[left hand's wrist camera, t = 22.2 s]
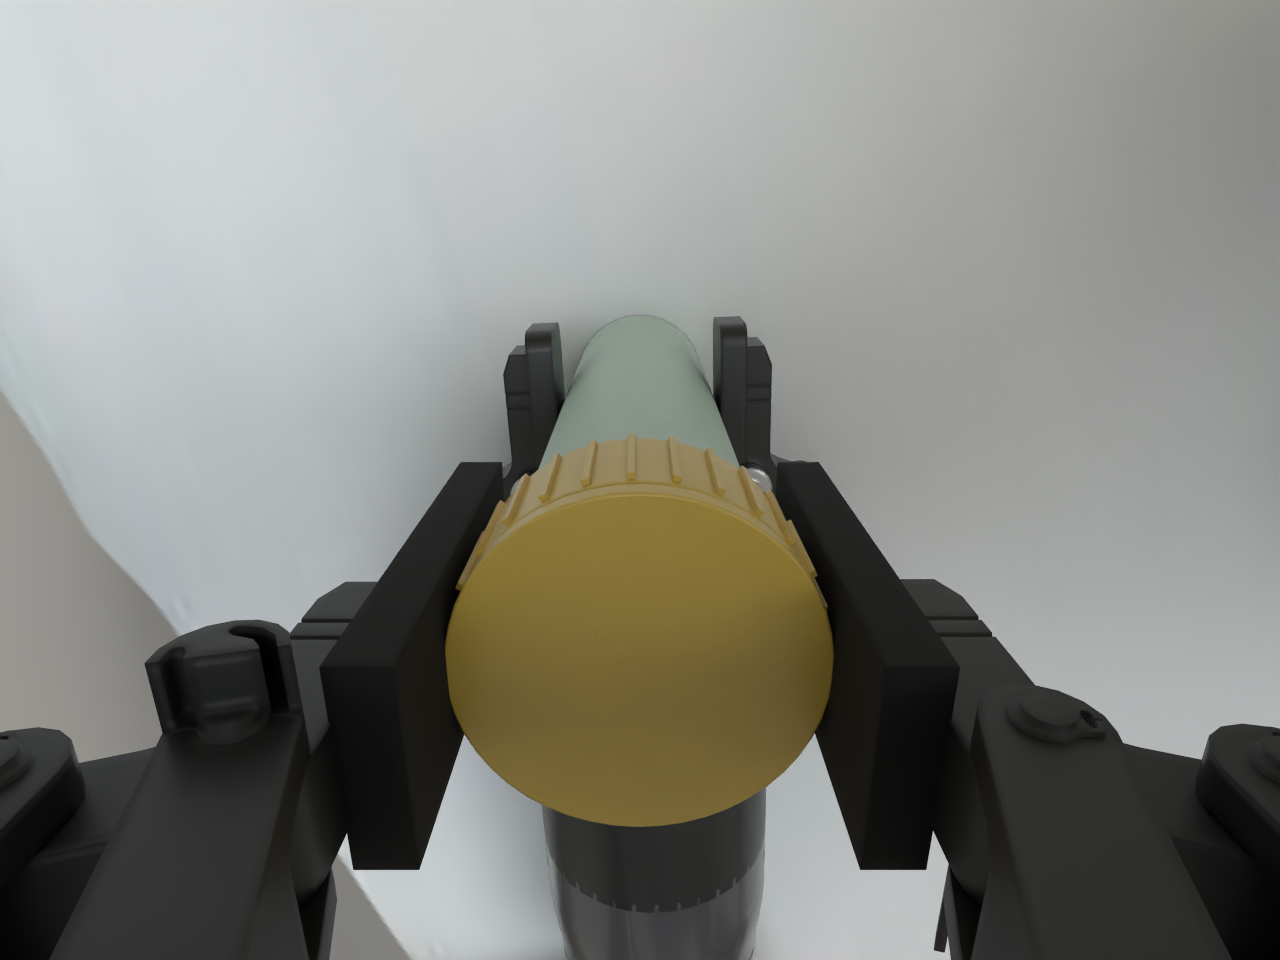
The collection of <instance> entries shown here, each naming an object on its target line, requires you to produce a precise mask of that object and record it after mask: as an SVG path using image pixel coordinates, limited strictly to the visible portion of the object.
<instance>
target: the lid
mask: <svg viewBox="0 0 1280 960" xmlns="http://www.w3.org/2000/svg"><path fill="white" fill-rule="evenodd" d="M816 576H818V575H817V573H816V571H815V569H814V567H813V564H812V562H811V560H810V558H809V556H808V554H807V552H806V550H805V548H804V546H803V544H802V541H801V539H800V537H799V535H798V533H797V531H796V529H795V527H794V525H793V523H792V521H791V520H789V521H786V519H785V517H784V515H783V513H782V511H781V509H780V506H779V504H778V502H777V500H776V498H775V496H774V494H773V493H772V492H771V490H769V491H768V492H767V493H765V491H764V490H763V489H762V488H761V487H760V486H759V485H758V484H757V483H756V482H754V481H753V480H752V479H751V478H750V475H749V473H748V470H747V469H746V468H745V467H744V466H741V467H740V468H739V469H738V468H736V467H735V466H734V465H732V464H731V463H729V462H728V461H726V460H724V459H722V458H720V457H717V456H715V452H714V450H713V449H711V448H709V447H707V449H706V451H704V450H701V449H698V448H696V447H693V446H690V445H687V444H682V443H677V442H676V438H675V437H669V438H668V440H659V439H646V438H636V434H629V435H628V439H618V440H612V441H606V442H601V443H597V441H596V439H595V440H591V441H589V444H588V446H586V447H583V448H580V449H577V450H574V451H572V452H570V453H568V454H565V455H563V456H560V454H559V453H557V454H555V455H553V456H552V459H551V462H550V463H548V464H547V465H545V466H544V467H542V468H540V469H539V470H537V471H536V472H535V473H534V474H533V475H531V476H530V477H529V476H528V475H527V474H525V475H524V476H522V477H521V479H520V482H519V484H518V486H517V489H516V490H515V491H514V492H513V493H512V495H511V496H510V497H509V498H508V499H507V500H506V502H505V503H504V502H503V501H501V500H500V501H499V503H498V504H497V506H496V508H495V510H494V512H493V514H492V516H491V518H490V520H489V522H488V525H487V527H486V529H485V531H482V533H481V535H480V537H479V539H478V541H477V543H476V545H475V548H474V550H473V552H472V554H471V556H470V558H469V560H468V562H467V564H466V566H465V568H464V570H463V572H462V574H461V577H460V579H459V581H458V583H457V585H456V589H457V590H460V593H459V596H458V598H457V600H456V602H455V604H454V607H453V610H452V613H451V617H450V620H449V623H448V626H447V633H446V639H445V655H446V666H447V676H448V686H449V695H450V701H451V704H452V707H453V710H454V713H455V716H456V718H457V720H458V722H459V724H460V726H461V728H462V730H463V732H464V734H465V736H466V737H467V739H468V740H469V742H470V743H471V745H472V746H473V748H474V749H475V751H476V752H477V753H478V754H479V755H480V757H481V758H482V759H483V760H484V761H485V762H486V763H487V764H488V766H489V767H490V768H491V769H492V770H493V771H494V772H496V773H497V774H498V775H499V776H500V777H501V778H502V779H504V780H505V781H506V782H507V783H508V784H510V785H511V786H512V787H514V788H515V789H517V790H518V791H520V792H521V793H523V794H524V795H526V796H527V797H529V798H531V799H533V800H535V801H537V802H538V803H540V804H542V805H544V806H546V807H548V808H551V809H553V810H556V811H558V812H561V813H563V814H566V815H569V816H572V817H576V818H579V819H583V820H587V821H590V822H596V823H602V824H608V825H615V826H631V827H646V826H663V825H670V824H677V823H684V822H688V821H692V820H696V819H700V818H704V817H707V816H710V815H712V814H715V813H718V812H720V811H723V810H726V809H728V808H730V807H732V806H734V805H736V804H738V803H740V802H742V801H744V800H746V799H748V798H750V797H751V796H753V795H754V794H756V793H757V792H759V791H760V790H762V789H763V788H765V787H767V786H768V785H769V784H770V783H771V782H773V781H774V780H775V779H776V778H777V777H779V776H780V775H781V774H782V773H783V772H784V771H785V770H786V769H787V768H788V767H789V766H790V765H791V764H792V763H793V762H794V761H795V760H796V759H797V757H798V756H799V755H800V754H801V752H802V751H803V750H804V748H805V747H806V745H807V744H808V743H809V741H810V740H811V738H812V737H813V735H814V733H815V731H816V729H817V727H818V725H819V723H820V721H821V719H822V717H823V714H824V711H825V709H826V706H827V703H828V700H829V696H830V689H831V680H832V670H833V660H834V644H833V635H832V629H831V626H830V622H829V618H828V615H827V612H828V605H827V603H826V601H825V599H824V597H823V595H822V593H821V590H820V588H819V586H818V584H817V582H816V580H815V578H814V577H816Z"/></svg>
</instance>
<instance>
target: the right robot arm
mask: <svg viewBox="0 0 1280 960" xmlns="http://www.w3.org/2000/svg"><path fill="white" fill-rule="evenodd" d="M503 376H504V386H505V394H506V405H507V415H508V425H509V434H510V444H511V454H512V463H511V464H509V465H508V466H506V467H504V468H502V471H503V486H504V501H505V502H506V500H507V499H508V498H509V497H510V496H511V495H512V493H513V492H514V491H515V490H516V489H517V486H518V484H519V482H520V479H521V477H522V476H524V475H525V474H527V475H528V476H529V477H530V476H531V475H533V474H534V473H535V472H536V471H537V470H538V469H539V466H540V464H541V461H542V458H543V456H544V453H545V451H546V448H547V446H548V443H549V440H550V438H551V435H552V433H553V430H554V427H555V425H556V422H557V420H558V417H559V414H560V412H561V409H562V407H563V404H564V401H565V393H564V380H563V366H562V353H561V340H560V330H559V325H558V323H539V324H532V325H531V326H530V327H529V329H528V330H527V331H526V334H525V345H523V346H517V347H516V348H515V349H514V350H513V351H512V352H511V353H510V355H509V357H508V360H507V364H506V367H505V370H504V374H503ZM771 379H772V364H771V361H770V359H769V356H768V354H767V351H766V348H765V346H764V345H763V344H762V343H761V341H760V340H759V339H758V338H757V337H748V338H747V328H746V324H745V322H744V321H743V320H742V319H741V318H740V317H739V316H736V317H714V322H713V398H714V400H715V403H716V406H717V408H718V411H719V413H720V416H721V419H722V421H723V424H724V427H725V429H726V432H727V434H728V437H729V440H730V442H731V445H732V448H733V450H734V453H735V456H736V458H737V461H738V463H739V466H740V467H741V466H744V467H745V468H746V469H747V470H748V473H749V475H750V478H751V479H752V480H753V481H754V482H756V483H757V484H758V485H759V486H760V487H761V488H762V489H763V490H764V491H765V493H767V492H768V491H769V490H771V492H772V493H773V494H774V496H775V495H776V479H777V464H778V462H791V461H788V460H785V459H782V458H779V457H776V456H774V455H773V454H771V453H770V423H771ZM793 462H805V461H793ZM542 809H543V819H544V829H545V838H546V848H547V858H548V867H549V876H550V886H551V893H552V899H553V904H554V908H555V912H556V916H557V920H558V923H559V926H560V929H561V933H562V936H563V942H564V949H565V959H566V960H755V935H756V926H757V921H758V917H759V912H760V907H761V901H762V894H763V884H764V852H765V809H766V787H765V788H763V789H762V790H760V791H759V792H757V793H756V794H754V795H753V796H751V797H750V798H748V799H746V800H744V801H742V802H740V803H738V804H736V805H734V806H732V807H730V808H728V809H726V810H723V811H720V812H718V813H715V814H712V815H710V816H707V817H704V818H700V819H696V820H692V821H688V822H684V823H677V824H670V825H663V826H646V827H631V826H615V825H608V824H602V823H596V822H590V821H587V820H583V819H579V818H576V817H572V816H569V815H566V814H563V813H561V812H558V811H556V810H553V809H551V808H548V807H546V806H544V805H542Z"/></svg>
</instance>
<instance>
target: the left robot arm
mask: <svg viewBox="0 0 1280 960" xmlns="http://www.w3.org/2000/svg"><path fill="white" fill-rule="evenodd" d="M775 498H776V500H777V502H778V504H779V506H780V509H781V511H782V513H783V515H784V517H785V519H786V521H789V520H791V521H792V523H793V525H794V527H795V529H796V531H797V533H798V535H799V537H800V539H801V541H802V544H803V546H804V548H805V550H806V552H807V554H808V556H809V558H810V560H811V562H812V564H813V567H814V569H815V571H816V573H817V575H818V576H816V577H814V578H815V580H816V582H817V584H818V586H819V588H820V590H821V593H822V595H823V597H824V599H825V601H826V603H827V605H828V612H827V615H828V618H829V622H830V626H831V629H832V635H833V644H834V660H833V670H832V680H831V689H830V696H829V700H828V703H827V706H826V709H825V711H824V714H823V717H822V719H821V721H820V723H819V725H818V727H817V729H816V731H815V734H816V737H817V740H818V743H819V746H820V750H821V753H822V756H823V759H824V762H825V765H826V768H827V771H828V774H829V777H830V780H831V783H832V786H833V789H834V792H835V795H836V798H837V801H838V804H839V807H840V810H841V813H842V816H843V819H844V822H845V825H846V828H847V831H848V834H849V837H850V840H851V843H852V846H853V849H854V852H855V855H856V858H857V861H858V864H859V867H860V870H926V868H927V862H928V856H929V850H930V844H931V838H932V832H933V831H934V833H935V835H936V837H937V839H938V842H939V844H940V846H941V848H942V850H943V852H944V854H945V857H946V859H947V861H948V863H949V865H948V871H947V876H946V882H945V887H944V893H943V898H942V904H941V909H940V915H939V920H938V925H937V931H936V938H935V945H934V950H935V951H940V952H945V947H946V942H947V937H948V939H949V947H950V955H951V960H1280V729H1279V728H1274V727H1265V726H1257V725H1249V724H1237V725H1229V726H1222V727H1220V728H1218V729H1217V730H1216V731H1215V732H1213V733H1212V734H1211V735H1209V738H1208V741H1207V744H1206V748H1205V751H1204V754H1203V757H1202V760H1200V759H1195V758H1190V757H1185V756H1180V755H1175V754H1170V753H1165V752H1160V751H1155V750H1150V749H1145V748H1140V747H1136V746H1132V745H1128V744H1124V743H1123V742H1122V740H1121V738H1120V736H1119V734H1118V732H1117V731H1116V730H1115V728H1114V727H1113V726H1112V725H1111V724H1110V722H1109V721H1108V720H1107V719H1106V717H1105V716H1104V715H1102V714H1101V713H1099V712H1098V711H1096V710H1095V709H1093V708H1092V707H1091V706H1089V705H1088V704H1086V703H1085V702H1083V701H1081V700H1079V699H1076V698H1074V697H1072V696H1069V695H1067V694H1065V693H1062V692H1060V691H1057V690H1053V689H1049V688H1044V687H1040V686H1036V685H1034V683H1033V682H1032V681H1031V680H1030V678H1029V677H1028V676H1027V675H1026V674H1025V672H1024V671H1023V670H1022V669H1021V667H1020V666H1019V665H1018V664H1017V663H1016V661H1015V660H1014V659H1013V658H1012V657H1011V655H1010V654H1009V653H1008V652H1007V650H1006V649H1005V648H1004V647H1003V646H1002V644H1001V643H1000V642H999V641H998V639H997V638H996V637H992V632H991V631H990V630H989V629H988V627H987V626H986V625H985V624H984V622H983V621H982V620H979V619H978V615H977V614H976V613H975V611H974V610H973V609H972V608H971V607H970V605H969V604H968V603H967V602H966V601H965V599H964V598H963V597H962V596H961V595H959V594H957V593H956V592H954V591H952V590H951V589H949V588H948V587H946V586H944V585H943V584H941V583H939V582H938V581H936V580H934V579H899V577H898V576H897V575H896V573H895V572H894V570H893V569H892V567H891V566H890V564H889V563H888V562H887V560H886V559H885V557H884V556H883V554H882V553H881V551H880V550H879V549H878V547H877V546H876V544H875V543H874V541H873V540H872V538H871V537H870V536H869V534H868V533H867V531H866V530H865V528H864V527H863V526H862V524H861V523H860V521H859V520H858V518H857V517H856V515H855V514H854V513H853V511H852V510H851V508H850V507H849V505H848V504H847V502H846V501H845V500H844V498H843V497H842V495H841V494H840V492H839V491H838V489H837V488H836V487H835V485H834V484H833V482H832V481H831V479H830V478H829V476H828V475H827V474H826V472H825V471H824V469H823V468H822V466H821V465H820V463H819V462H778V464H777V479H776V495H775ZM500 500H501V501H503V502H504V503H505V501H504V486H503V471H502V462H461V463H460V464H459V466H458V467H457V469H456V470H455V471H454V473H453V474H452V476H451V477H450V479H449V480H448V482H447V483H446V484H445V486H444V487H443V489H442V490H441V492H440V493H439V495H438V496H437V497H436V499H435V500H434V502H433V503H432V505H431V506H430V508H429V509H428V510H427V512H426V513H425V515H424V516H423V518H422V519H421V520H420V522H419V523H418V525H417V526H416V528H415V529H414V531H413V532H412V533H411V535H410V536H409V538H408V539H407V541H406V542H405V544H404V545H403V546H402V548H401V549H400V551H399V552H398V554H397V555H396V557H395V558H394V559H393V561H392V562H391V564H390V565H389V567H388V568H387V570H386V571H385V572H384V574H383V575H382V577H381V578H380V580H379V581H378V582H345V583H343V584H341V585H340V586H338V587H337V588H335V589H333V590H332V591H330V592H328V593H327V594H325V595H323V596H322V597H320V598H319V599H317V601H316V602H315V603H314V604H313V606H312V607H311V608H310V609H309V610H308V612H307V613H306V614H305V615H304V617H303V618H302V622H301V623H298V624H297V625H296V626H295V628H294V629H293V630H292V631H291V633H290V634H289V632H288V631H287V630H285V629H284V628H283V627H281V626H280V625H279V624H276V623H271V622H267V621H262V620H238V621H230V622H225V623H220V624H215V625H210V626H206V627H203V628H201V629H198V630H195V631H192V632H190V633H187V634H184V635H182V636H180V637H178V638H176V639H174V640H173V641H171V642H169V643H168V644H166V645H164V646H162V647H161V648H159V649H158V650H157V651H156V652H155V653H154V654H153V655H152V656H151V657H150V658H149V659H148V660H147V661H146V662H145V667H146V671H147V675H148V679H149V682H150V686H151V690H152V694H153V698H154V702H155V705H156V709H157V713H158V717H159V721H160V725H161V728H162V732H163V733H162V736H161V737H160V739H159V741H158V744H157V746H156V747H154V748H150V749H146V750H142V751H137V752H132V753H127V754H122V755H118V756H113V757H108V758H103V759H98V760H93V761H88V762H83V763H79V762H78V759H77V756H76V753H75V750H74V747H73V743H72V740H71V739H70V738H69V737H68V736H66V735H65V734H64V733H63V732H61V731H60V730H54V729H46V728H39V727H37V728H29V729H21V730H12V731H5V732H1V733H0V960H329V957H330V949H331V941H332V933H333V926H334V918H335V911H336V903H337V896H336V889H335V882H334V876H333V871H332V864H333V862H334V860H335V857H336V855H337V853H338V851H339V849H340V847H341V845H342V842H343V840H344V838H345V836H346V834H347V835H348V841H349V847H350V853H351V859H352V865H353V870H419V869H420V866H421V863H422V860H423V857H424V854H425V851H426V848H427V845H428V842H429V839H430V836H431V833H432V830H433V827H434V824H435V821H436V818H437V815H438V812H439V809H440V806H441V803H442V800H443V797H444V794H445V790H446V787H447V784H448V781H449V778H450V775H451V772H452V769H453V766H454V763H455V760H456V757H457V754H458V751H459V748H460V745H461V742H462V739H463V736H464V732H463V730H462V728H461V726H460V724H459V722H458V720H457V718H456V716H455V713H454V710H453V707H452V704H451V701H450V695H449V686H448V676H447V666H446V655H445V639H446V633H447V626H448V623H449V620H450V617H451V613H452V610H453V607H454V604H455V602H456V600H457V598H458V596H459V593H460V590H457V589H456V585H457V583H458V581H459V579H460V577H461V574H462V572H463V570H464V568H465V566H466V564H467V562H468V560H469V558H470V556H471V554H472V552H473V550H474V548H475V545H476V543H477V541H478V539H479V537H480V535H481V533H482V531H485V529H486V527H487V525H488V522H489V520H490V518H491V516H492V514H493V512H494V510H495V508H496V506H497V504H498V503H499V501H500Z"/></svg>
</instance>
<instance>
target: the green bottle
mask: <svg viewBox="0 0 1280 960" xmlns="http://www.w3.org/2000/svg"><path fill="white" fill-rule="evenodd" d="M629 434H636V438H646V439H659V440H668V438H669V437H675V438H676V442H677V443H682V444H687V445H690V446H693V447H696V448H698V449H701V450H704V451H706V449H707V447H709V448H711V449H713V450H714V452H715V456H717V457H720V458H722V459H724V460H726V461H728V462H729V463H731V464H732V465H734V466H735V467H736V468H738V469H739V468H740V466H739V463H738V461H737V458H736V456H735V453H734V450H733V448H732V445H731V442H730V440H729V437H728V434H727V432H726V429H725V427H724V424H723V421H722V419H721V416H720V413H719V411H718V408H717V406H716V403H715V400H714V398H713V395H712V392H711V390H710V387H709V385H708V382H707V379H706V377H705V374H704V371H703V369H702V366H701V363H700V361H699V358H698V356H697V353H696V350H695V349H694V347H693V345H692V343H691V342H690V340H689V339H688V338H687V336H686V335H685V334H684V333H683V332H682V331H681V330H679V329H678V328H677V327H676V326H674V325H672V324H671V323H669V322H667V321H665V320H663V319H660V318H657V317H653V316H647V315H633V316H627V317H623V318H620V319H617V320H615V321H612V322H611V323H609V324H607V325H605V326H604V327H603V328H602V329H600V330H599V331H598V332H597V333H596V334H595V335H594V336H593V337H592V339H591V340H590V341H589V343H588V344H587V346H586V348H585V350H584V352H583V355H582V357H581V360H580V362H579V365H578V368H577V370H576V373H575V375H574V378H573V381H572V383H571V386H570V388H569V391H568V394H567V396H566V399H565V401H564V404H563V407H562V409H561V412H560V414H559V417H558V420H557V422H556V425H555V427H554V430H553V433H552V435H551V438H550V440H549V443H548V446H547V448H546V451H545V453H544V456H543V458H542V461H541V464H540V466H539V469H540V468H542V467H544V466H545V465H547V464H548V463H550V462H551V459H552V456H553V455H555V454H557V453H559V454H560V456H563V455H565V454H568V453H570V452H572V451H574V450H577V449H580V448H583V447H586V446H588V444H589V441H591V440H595V439H596V441H597V443H601V442H606V441H612V440H618V439H628V435H629ZM539 469H538V470H539Z"/></svg>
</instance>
